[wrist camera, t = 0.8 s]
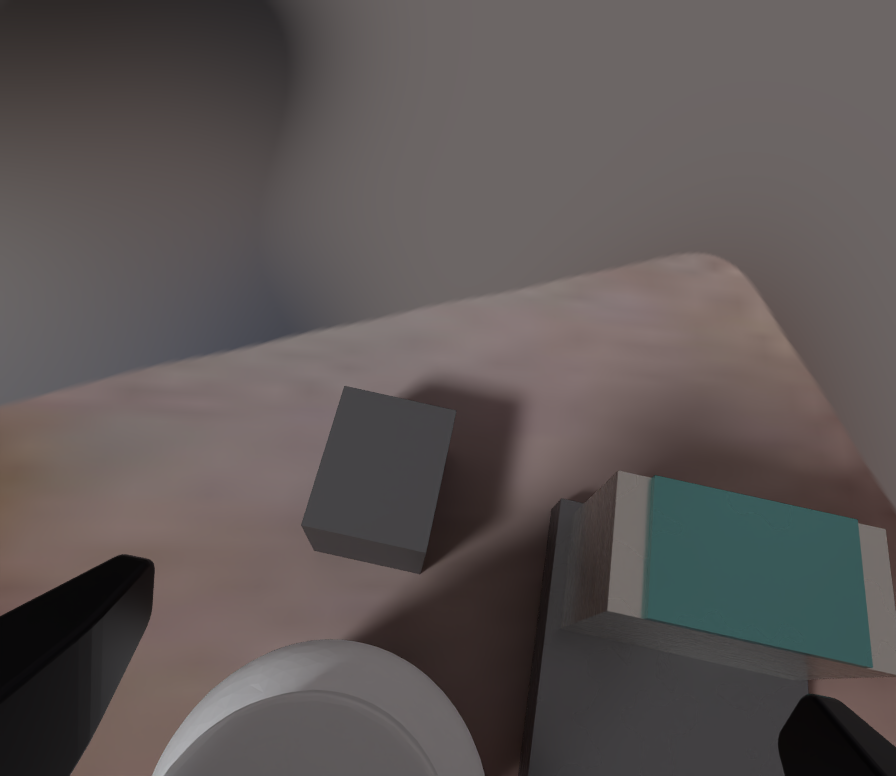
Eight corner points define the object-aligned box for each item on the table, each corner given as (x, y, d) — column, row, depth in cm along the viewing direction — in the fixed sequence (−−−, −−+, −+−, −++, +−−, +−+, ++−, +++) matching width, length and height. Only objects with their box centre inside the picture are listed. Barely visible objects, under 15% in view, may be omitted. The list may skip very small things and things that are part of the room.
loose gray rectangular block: (419, 574, 23) (426, 552, 19) (314, 551, 23) (301, 525, 19) (446, 450, 25) (456, 410, 22) (350, 429, 25) (344, 385, 22)
